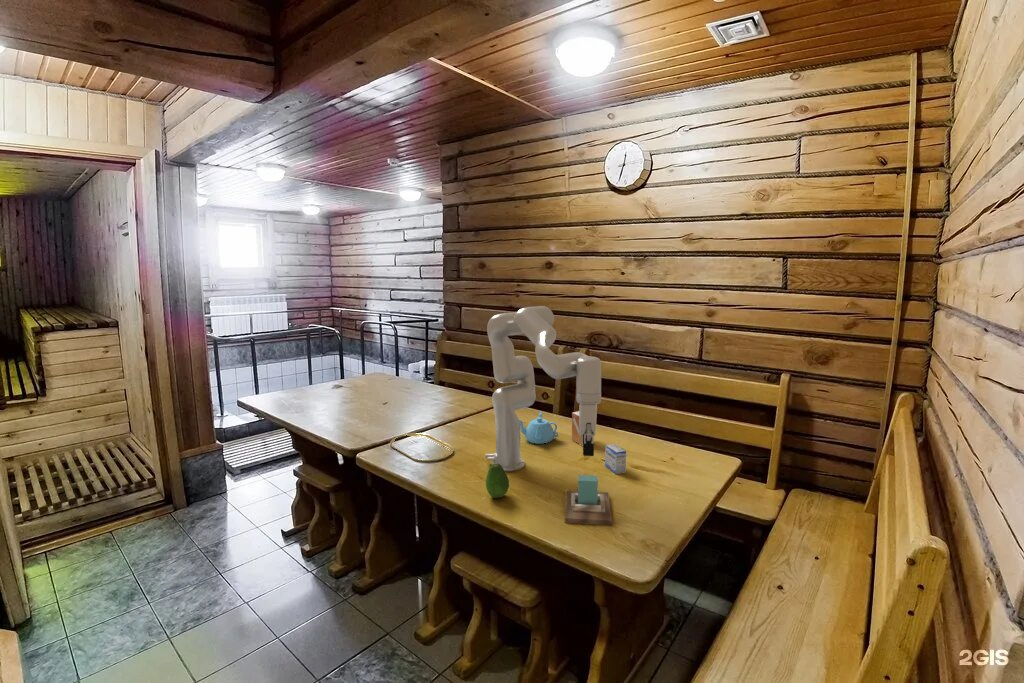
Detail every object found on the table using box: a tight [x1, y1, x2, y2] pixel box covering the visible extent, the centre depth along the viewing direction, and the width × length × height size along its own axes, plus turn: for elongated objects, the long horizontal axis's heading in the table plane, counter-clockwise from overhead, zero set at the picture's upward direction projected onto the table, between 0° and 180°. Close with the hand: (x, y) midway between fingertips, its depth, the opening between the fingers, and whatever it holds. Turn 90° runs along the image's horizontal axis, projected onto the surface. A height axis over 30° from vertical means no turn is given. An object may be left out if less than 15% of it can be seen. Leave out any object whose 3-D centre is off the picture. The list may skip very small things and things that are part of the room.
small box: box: [571, 410, 595, 446], centre depth 210 cm, size 8×6×13 cm
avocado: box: [485, 463, 510, 499], centre depth 163 cm, size 8×8×12 cm
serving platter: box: [389, 432, 455, 463], centre depth 208 cm, size 19×35×2 cm, turn 41°
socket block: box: [564, 490, 613, 526], centre depth 154 cm, size 14×18×3 cm
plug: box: [577, 474, 599, 505], centre depth 154 cm, size 6×4×9 cm, turn 82°
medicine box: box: [604, 443, 627, 475], centre depth 183 cm, size 8×4×9 cm, turn 21°
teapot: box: [519, 411, 559, 445], centre depth 214 cm, size 15×15×10 cm
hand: (588, 449), depth 151 cm, fingers open, 9 cm apart
